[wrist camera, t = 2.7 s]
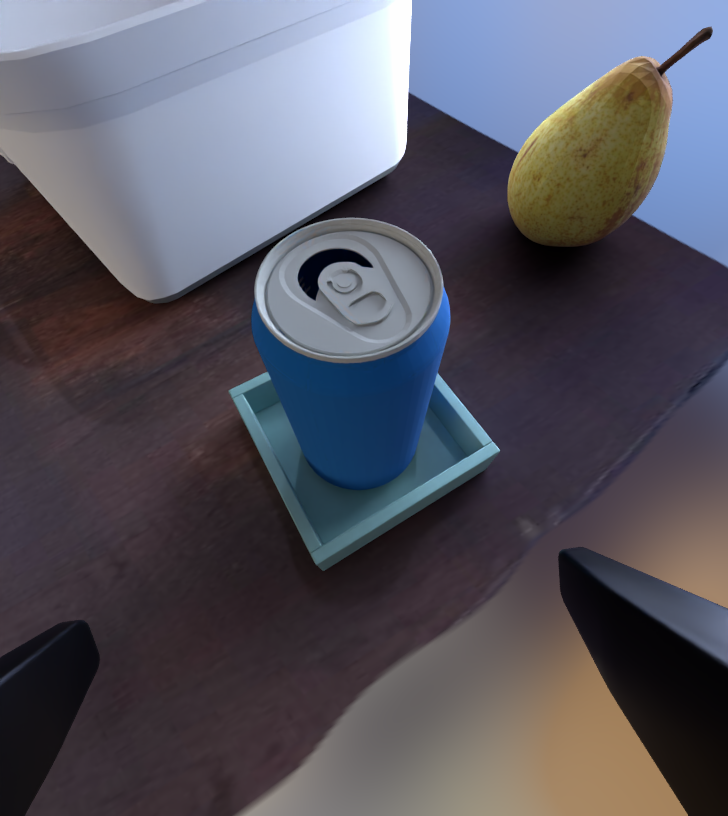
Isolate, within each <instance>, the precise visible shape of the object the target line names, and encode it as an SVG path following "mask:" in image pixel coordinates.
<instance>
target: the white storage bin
mask: <svg viewBox="0 0 728 816" xmlns="http://www.w3.org/2000/svg"><path fill="white" fill-rule="evenodd" d="M410 28H411V0H0V155H2V156H3V157H4V158H5V159H6V160H7V161H8V162H9V163H11V164H15V165H16V166H17V167H18V168H19V169H20V171H21V172H22V173H23V174H24V175H25V176H26V177H27V178H28V180H29V181H30V182H31V183H32V184H33V185H34V186H35V187H36V189H37V190H38V191H39V192H40V193H41V194H42V195H43V196H44V198H45V199H46V200H47V201H48V202H49V203H50V204H51V205H52V207H53V208H54V209H55V210H56V211H57V212H58V213H59V214H60V216H61V217H62V218H63V219H64V220H65V221H66V222H67V223H68V225H69V226H70V227H71V228H72V229H73V230H74V231H75V232H76V234H77V235H78V236H79V237H80V238H81V239H82V240H83V241H84V243H85V244H86V245H87V246H88V247H89V248H90V249H91V250H92V252H93V253H94V254H95V255H96V256H97V257H98V258H99V259H100V261H101V262H102V263H103V264H104V265H105V266H106V267H107V268H108V269H109V271H110V272H111V273H112V274H113V275H114V276H115V277H116V278H117V280H118V281H119V282H120V283H121V284H122V285H123V286H125V287H126V288H127V289H128V290H129V291H130V292H132V293H133V294H134V295H135V296H137V297H139V298H142V299H144V300H146V301H148V302H151V303H168V302H170V301H173V300H176V299H178V298H180V297H181V296H183V295H185V294H186V293H188V292H190V291H192V290H193V289H195V288H197V287H198V286H200V285H202V284H203V283H205V282H207V281H208V280H210V279H212V278H213V277H215V276H217V275H219V274H220V273H222V272H224V271H225V270H227V269H229V268H230V267H232V266H234V265H235V264H237V263H239V262H241V261H242V260H244V259H246V258H247V257H249V256H251V255H252V254H254V253H256V252H257V251H259V250H261V249H262V248H264V247H266V246H268V245H269V244H271V243H273V242H274V241H276V240H278V239H279V238H281V237H283V236H284V235H286V234H288V233H289V232H291V231H293V230H295V229H296V228H298V227H300V226H301V225H303V224H305V223H306V222H308V221H310V220H311V219H313V218H315V217H317V216H318V215H320V214H322V213H323V212H325V211H327V210H328V209H330V208H332V207H333V206H335V205H337V204H338V203H340V202H342V201H344V200H345V199H347V198H349V197H350V196H352V195H354V194H355V193H357V192H359V191H360V190H362V189H364V188H366V187H367V186H369V185H371V184H372V183H374V182H376V181H377V180H379V179H381V178H382V177H384V176H386V175H387V174H389V173H391V172H392V171H393V170H394V169H395V168H396V167H397V165H398V163H399V161H400V160H401V158H402V156H403V154H404V152H405V147H406V135H407V108H408V82H409V55H410Z"/></svg>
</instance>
